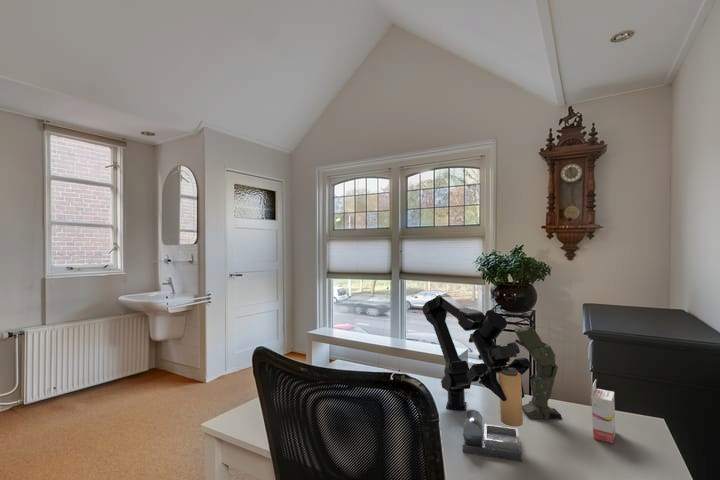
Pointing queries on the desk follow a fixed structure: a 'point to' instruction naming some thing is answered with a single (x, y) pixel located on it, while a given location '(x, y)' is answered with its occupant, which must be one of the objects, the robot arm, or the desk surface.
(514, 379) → the bottle
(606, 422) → the ink cartridge box
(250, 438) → the desk surface
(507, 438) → the motor mount
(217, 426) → the desk surface
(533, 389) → the mechanical leg
